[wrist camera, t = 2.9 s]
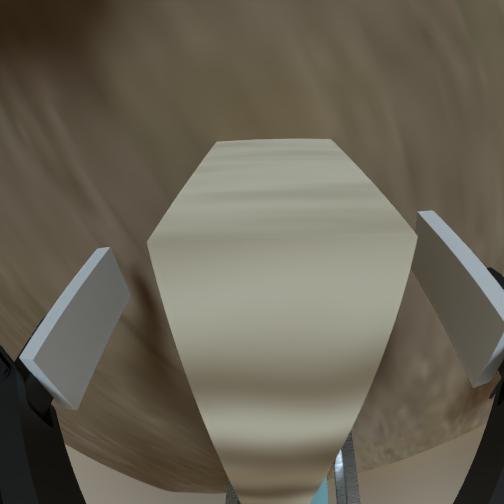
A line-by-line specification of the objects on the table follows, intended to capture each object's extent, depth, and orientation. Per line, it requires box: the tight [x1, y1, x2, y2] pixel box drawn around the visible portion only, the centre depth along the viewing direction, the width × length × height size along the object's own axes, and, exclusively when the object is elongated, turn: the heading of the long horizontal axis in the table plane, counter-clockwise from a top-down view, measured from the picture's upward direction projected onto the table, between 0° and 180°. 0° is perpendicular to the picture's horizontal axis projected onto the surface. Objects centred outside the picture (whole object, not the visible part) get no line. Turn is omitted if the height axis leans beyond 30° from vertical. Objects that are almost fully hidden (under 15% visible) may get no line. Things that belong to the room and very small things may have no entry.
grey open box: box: [225, 431, 360, 504], centre depth 23 cm, size 10×11×12 cm
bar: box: [147, 139, 418, 504], centre depth 15 cm, size 22×5×9 cm, turn 3°
